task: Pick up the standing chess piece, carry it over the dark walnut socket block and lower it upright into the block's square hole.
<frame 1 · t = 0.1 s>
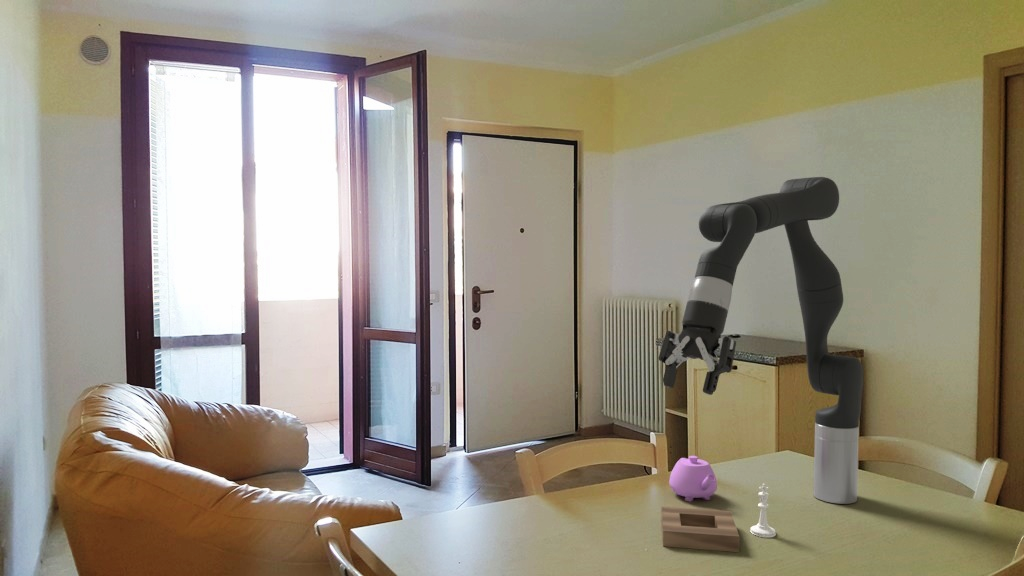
hand: (687, 390, 130), 31 cm above the table, tool tilted 20°, fingers open, 8 cm apart
chess piece: (762, 534, 145), on the table
teapot: (694, 498, 167), on the table
socket block: (697, 535, 143), on the table
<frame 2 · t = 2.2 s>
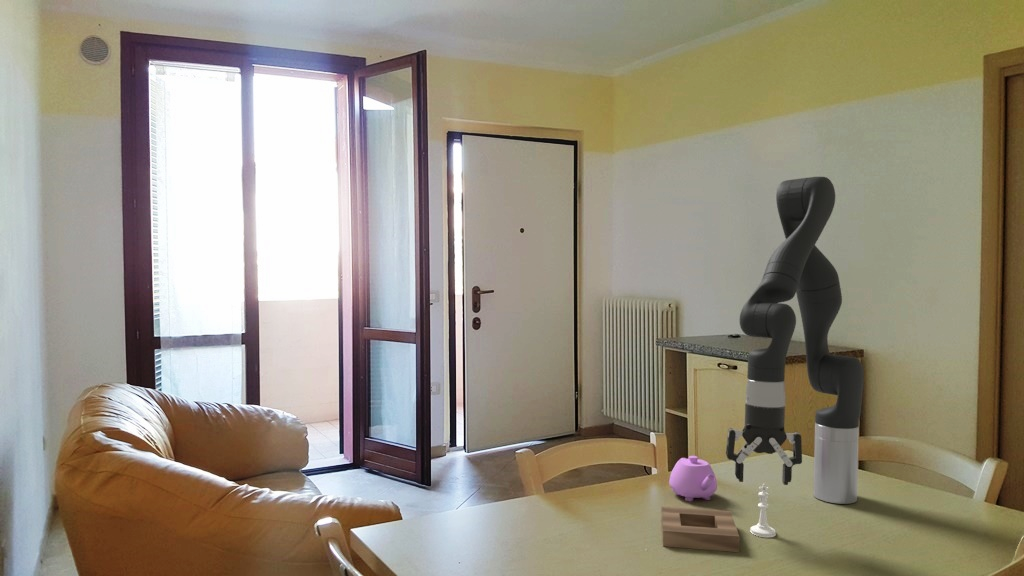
hand: (762, 482, 145), 10 cm above the table, tool pointing down, fingers open, 8 cm apart
nothing on the table moved.
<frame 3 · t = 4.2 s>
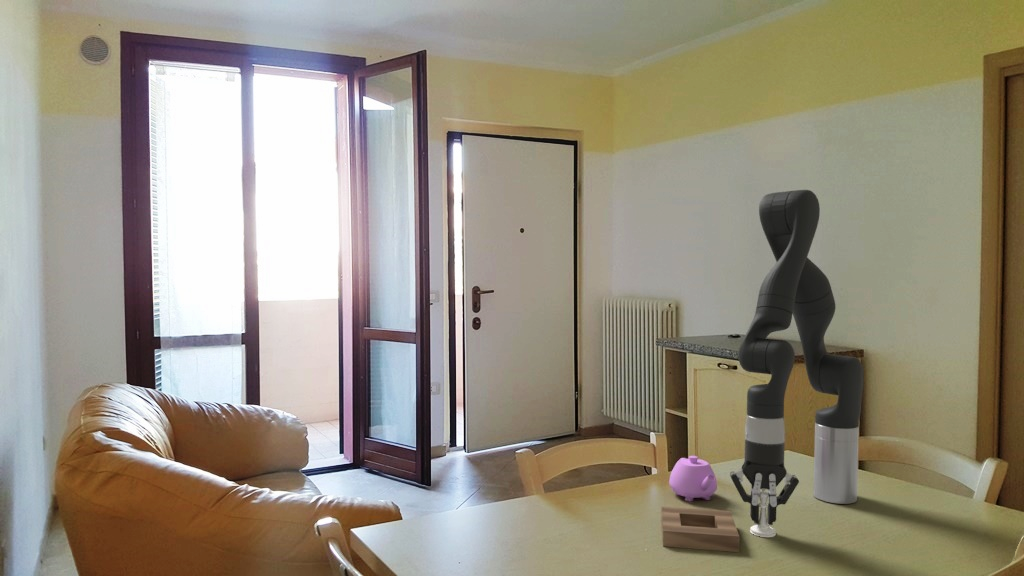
hand: (762, 522, 145), 2 cm above the table, tool pointing down, fingers closed on chess piece
chess piece: (762, 533, 145), on the table, touching gripper
everything else where it was.
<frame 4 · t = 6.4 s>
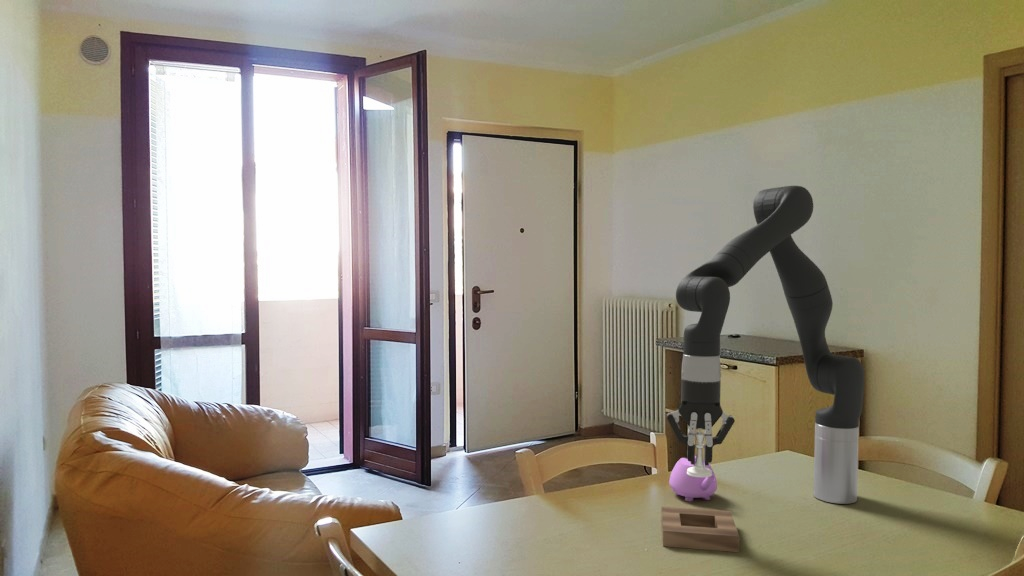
hand: (699, 463, 143), 14 cm above the table, tool pointing down, fingers closed on chess piece
chess piece: (699, 475, 143), point 12 cm above the table, touching gripper
everything else where it was.
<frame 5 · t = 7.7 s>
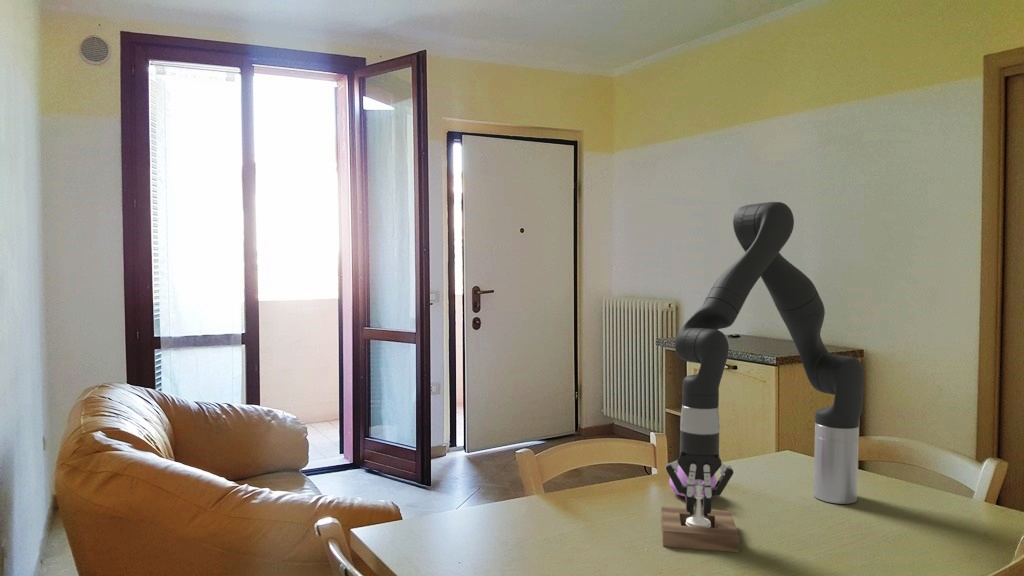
hand: (698, 514, 143), 4 cm above the table, tool pointing down, fingers closed on chess piece
chess piece: (698, 525, 143), point 2 cm above the table, touching gripper
everything else where it was.
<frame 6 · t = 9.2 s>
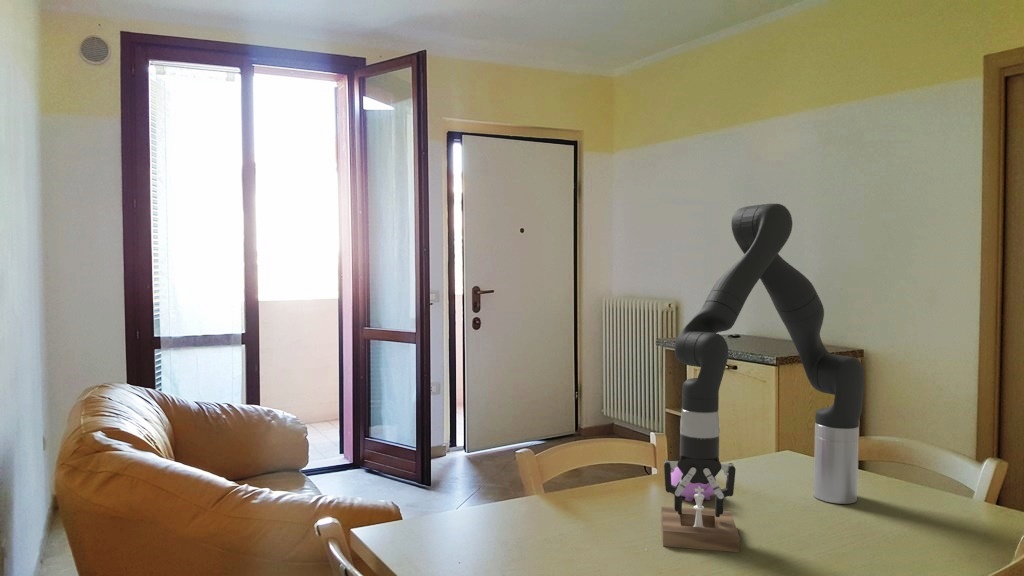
hand: (698, 514, 143), 4 cm above the table, tool pointing down, fingers open, 6 cm apart
chess piece: (698, 536, 143), resting in socket block
everything else where it was.
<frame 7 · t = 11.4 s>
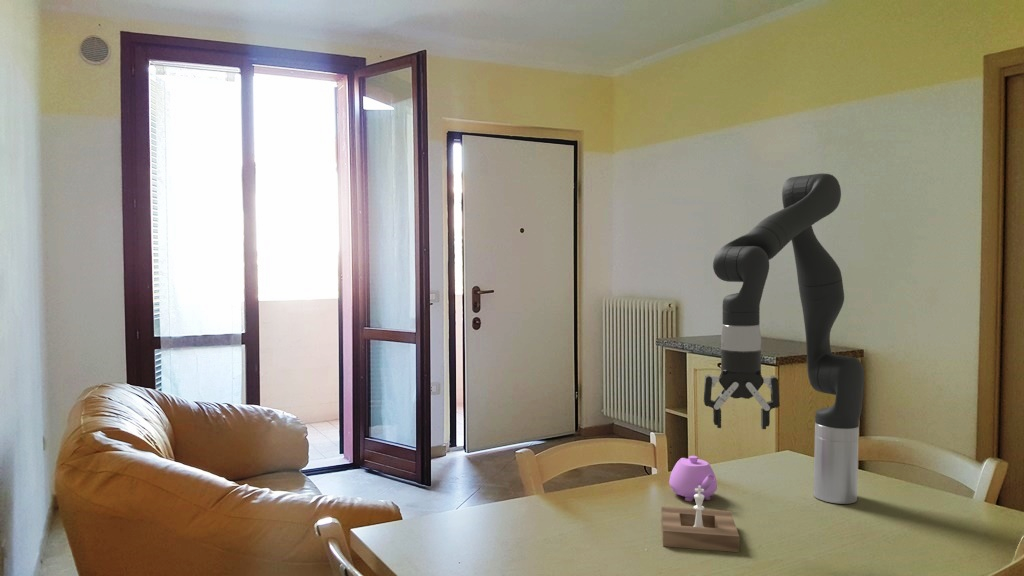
hand: (741, 427, 143), 21 cm above the table, tool pointing down, fingers open, 8 cm apart
nothing on the table moved.
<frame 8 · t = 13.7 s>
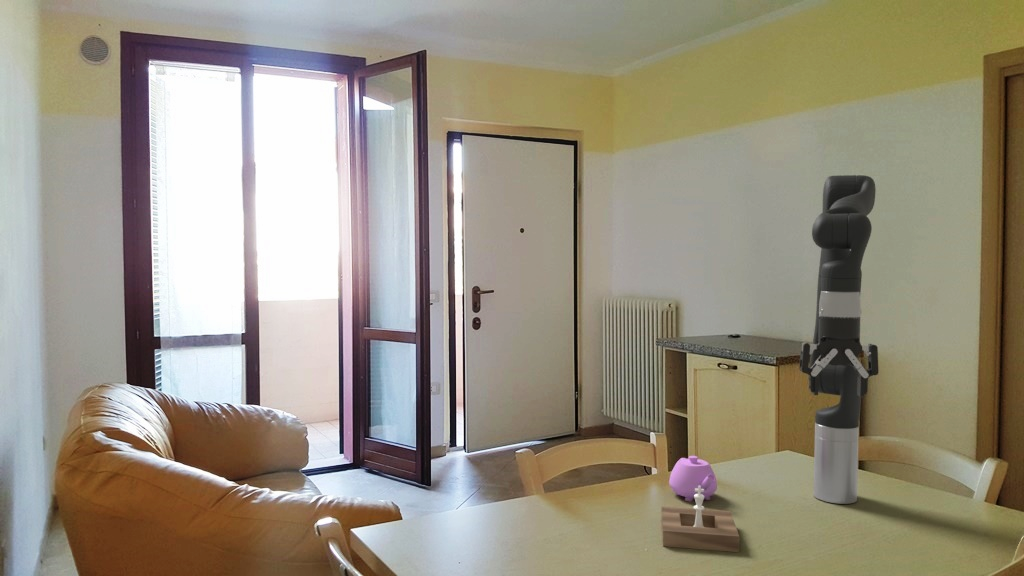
hand: (837, 395, 143), 28 cm above the table, tool pointing down, fingers open, 8 cm apart
nothing on the table moved.
at the end: chess piece 0.1 cm off-centre on the socket block, point 0.0 cm above the socket block's base; chess piece tilted 0°; the gripper is holding nothing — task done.
